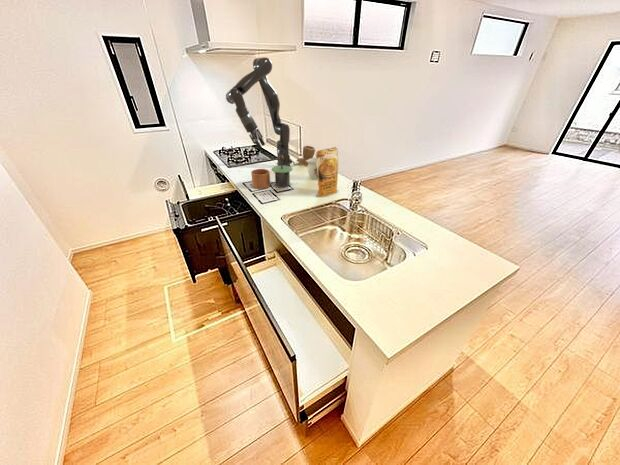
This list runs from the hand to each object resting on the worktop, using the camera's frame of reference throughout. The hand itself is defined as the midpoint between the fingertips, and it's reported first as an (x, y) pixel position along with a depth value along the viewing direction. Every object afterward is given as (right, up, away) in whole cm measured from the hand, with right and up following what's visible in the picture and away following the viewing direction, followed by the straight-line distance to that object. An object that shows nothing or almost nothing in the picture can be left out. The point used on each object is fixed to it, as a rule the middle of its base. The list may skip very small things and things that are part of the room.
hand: (262, 146), depth 167 cm
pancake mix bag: (+42, -31, -2) cm, 52 cm away
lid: (+13, -14, +3) cm, 19 cm away
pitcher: (+36, -16, +21) cm, 44 cm away
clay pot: (-2, -24, +7) cm, 25 cm away
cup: (+12, -23, +9) cm, 28 cm away
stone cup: (+28, +1, +48) cm, 55 cm away
